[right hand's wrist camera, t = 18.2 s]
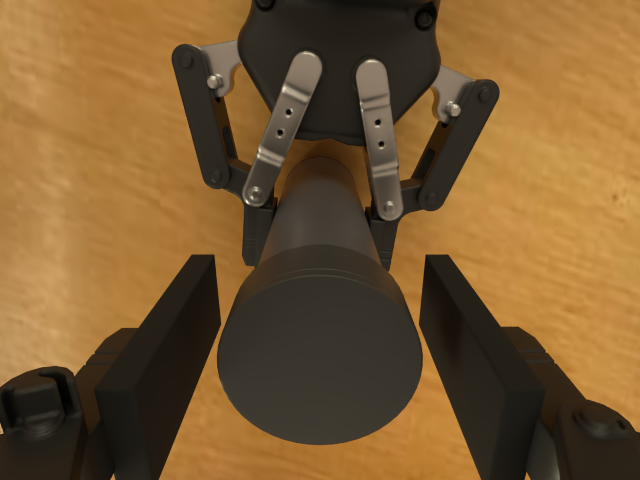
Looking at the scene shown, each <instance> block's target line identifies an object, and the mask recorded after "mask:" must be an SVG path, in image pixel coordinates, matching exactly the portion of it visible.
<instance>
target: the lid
mask: <svg viewBox="0 0 640 480" xmlns="http://www.w3.org/2000/svg"><path fill="white" fill-rule="evenodd" d="M422 364H423V354H422V347H421V342H420V339H419V335H418V332H417V330H416V327H415V324H414V322H413V319H412V317H411V314H410V311H409V309H408V306H407V304H406V301H405V298H404V296H403V294H402V292H401V290H400V288H399V286H398V284H397V283H396V281H395V280H394V278H393V277H392V276H391V275H390V274H389V273H388V272H387V271H386V269H384V268H383V267H382V266H381V265H380V264H378V263H377V262H376V261H374V260H373V259H371V258H369V257H368V256H366V255H364V254H362V253H359V252H357V251H355V250H352V249H348V248H345V247H340V246H335V245H324V244H316V245H305V246H299V247H294V248H291V249H288V250H285V251H282V252H280V253H278V254H276V255H274V256H272V257H270V258H269V259H267V260H266V261H264V262H262V263H261V264H260V265H259V266H258V267H257V268H255V269H254V270H253V271H252V272H251V274H250V275H249V276H248V277H247V278H246V279H245V281H244V282H243V284H242V285H241V287H240V289H239V291H238V293H237V295H236V298H235V300H234V303H233V306H232V308H231V311H230V313H229V316H228V319H227V321H226V324H225V327H224V329H223V332H222V334H221V338H220V341H219V345H218V352H217V368H218V373H219V378H220V381H221V384H222V387H223V389H224V391H225V393H226V395H227V397H228V399H229V400H230V402H231V403H232V404H233V406H234V407H235V408H236V410H237V411H238V412H239V413H240V414H241V415H242V416H243V417H244V418H246V419H247V420H248V421H249V422H250V423H252V424H253V425H255V426H256V427H258V428H259V429H261V430H263V431H265V432H267V433H269V434H271V435H273V436H275V437H278V438H281V439H284V440H287V441H291V442H295V443H302V444H310V445H330V444H338V443H345V442H348V441H352V440H356V439H359V438H362V437H364V436H367V435H369V434H371V433H373V432H375V431H377V430H379V429H380V428H382V427H384V426H385V425H387V424H388V423H389V422H391V421H392V420H393V419H394V418H395V417H397V416H398V415H399V413H400V412H401V411H402V410H403V409H404V408H405V407H406V405H407V404H408V403H409V401H410V400H411V398H412V397H413V395H414V393H415V391H416V389H417V386H418V383H419V380H420V377H421V372H422Z"/></svg>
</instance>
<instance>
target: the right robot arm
mask: <svg viewBox="0 0 640 480" xmlns="http://www.w3.org/2000/svg"><path fill="white" fill-rule="evenodd" d="M220 326H221V318H220V308H219V298H218V288H217V278H216V267H215V257H214V255H191V256H190V258H189V259H188V260H187V262H186V263H185V265H184V266H183V267H182V269H181V270H180V271H179V273H178V274H177V276H176V277H175V278H174V280H173V281H172V283H171V284H170V285H169V287H168V288H167V289H166V291H165V292H164V294H163V295H162V296H161V298H160V299H159V300H158V302H157V303H156V305H155V306H154V307H153V309H152V310H151V311H150V313H149V314H148V316H147V317H146V318H145V320H144V321H143V322H142V324H141V325H140V327H139V328H121V329H120V330H118V331H117V332H115V333H114V334H112V335H111V336H109V337H108V338H106V339H105V340H104V341H103V342H102V344H101V345H100V346H99V347H98V349H97V350H96V351H95V354H93V355H92V356H91V357H90V358H89V359H88V361H87V362H86V365H84V366H83V367H82V368H81V369H80V370H79V372H78V373H77V374H76V375H75V376H74V374H73V372H71V371H70V370H69V369H68V368H65V367H59V366H51V367H41V368H38V369H34V370H31V371H28V372H25V373H23V374H21V375H19V376H17V377H15V378H12V379H11V380H9V381H8V382H7V383H5V384H4V385H3V386H1V387H0V423H1V426H2V429H3V432H4V434H0V480H110V479H111V477H112V475H113V473H114V476H115V480H159V478H160V475H161V473H162V470H163V468H164V465H165V463H166V460H167V458H168V455H169V453H170V450H171V448H172V445H173V443H174V440H175V438H176V435H177V433H178V430H179V428H180V425H181V423H182V420H183V418H184V415H185V413H186V410H187V408H188V405H189V403H190V400H191V398H192V396H193V393H194V391H195V388H196V386H197V383H198V381H199V378H200V376H201V373H202V371H203V368H204V366H205V363H206V361H207V358H208V356H209V353H210V351H211V348H212V346H213V343H214V341H215V338H216V336H217V333H218V331H219V328H220ZM419 326H420V328H421V331H422V333H423V336H424V338H425V341H426V343H427V346H428V348H429V351H430V353H431V356H432V358H433V361H434V363H435V366H436V368H437V371H438V373H439V376H440V378H441V381H442V383H443V386H444V388H445V391H446V393H447V395H448V398H449V400H450V403H451V405H452V408H453V410H454V413H455V415H456V418H457V420H458V423H459V425H460V428H461V430H462V433H463V435H464V438H465V440H466V443H467V445H468V448H469V450H470V453H471V455H472V458H473V460H474V463H475V465H476V468H477V470H478V473H479V475H480V478H481V480H525V476H526V472H527V473H528V475H529V477H530V479H531V480H640V433H639V432H636V431H635V430H634V428H633V427H632V425H631V424H630V422H629V421H628V420H626V419H625V418H624V417H623V416H622V415H620V414H619V413H618V412H616V411H614V410H613V409H611V408H609V407H607V406H605V405H603V404H600V403H597V402H594V401H591V400H586V399H585V397H584V396H583V395H582V394H581V393H580V391H579V390H578V389H577V388H576V387H575V385H574V384H573V383H572V382H571V381H570V379H569V378H568V377H567V376H566V375H565V373H564V372H563V371H562V370H561V368H560V367H559V366H558V365H557V364H555V363H554V360H553V359H552V358H551V356H550V355H549V354H548V353H546V352H545V351H546V350H545V349H544V348H543V347H542V346H541V344H540V343H539V342H538V341H537V340H536V338H535V337H533V336H532V335H530V334H529V333H527V332H526V331H524V330H523V329H521V328H519V327H500V325H499V324H498V322H497V321H496V320H495V318H494V317H493V316H492V314H491V313H490V311H489V310H488V309H487V307H486V306H485V305H484V303H483V302H482V300H481V299H480V298H479V296H478V295H477V293H476V292H475V291H474V289H473V288H472V287H471V285H470V284H469V282H468V281H467V280H466V278H465V277H464V276H463V274H462V273H461V271H460V270H459V269H458V267H457V266H456V265H455V263H454V262H453V260H452V259H451V258H450V256H449V255H426V257H425V267H424V278H423V288H422V298H421V308H420V318H419Z"/></svg>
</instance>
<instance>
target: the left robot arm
mask: <svg viewBox="0 0 640 480" xmlns="http://www.w3.org/2000/svg"><path fill="white" fill-rule="evenodd" d="M439 5H440V0H252V4H251V9H250V12H249V15H248V18H247V20H246V22H245V24H244V25H243V27H242V29H241V30H240V33H239V36H238V40H234V41H229V42H223V43H218V44H212V45H207V46H201V47H199V46H195V45H188V44H182V45H179V46H177V47H176V48H175V49H174V51H173V53H172V64H173V68H174V72H175V75H176V79H177V83H178V87H179V90H180V94H181V98H182V102H183V105H184V109H185V113H186V117H187V120H188V124H189V128H190V132H191V135H192V139H193V143H194V147H195V150H196V154H197V158H198V162H199V165H200V169H201V173H202V176H203V180H204V182H205V183H206V184H207V185H208V186H209V187H211V188H213V189H221V188H223V189H225V190H227V191H229V192H231V193H233V194H235V195H237V196H238V197H239V198H240V199H241V200H242V202H243V205H244V227H243V247H242V257H243V259H244V262H245V265H247V266H255V268H257V267H258V265H259V262H260V259H261V255H262V252H263V249H264V246H265V243H266V240H267V237H268V234H269V231H270V228H271V225H272V222H273V219H274V216H275V213H276V210H277V201H278V198H277V197H274V184H275V182H276V179H277V177H278V174H279V172H280V170H281V167H282V165H283V163H284V160H285V158H286V156H287V153H288V151H289V149H290V146H291V144H292V142H293V139H300V140H309V141H314V140H320V139H326V138H332V139H335V140H337V141H340V142H342V143H345V144H347V145H354V146H362V151H363V156H364V161H365V165H366V170H367V176H368V182H369V187H370V193H371V198H372V200H371V207H366V208H365V216H366V219H367V223H368V226H369V229H370V232H371V235H372V238H373V241H374V244H375V247H376V250H377V253H378V256H379V259H380V262H381V265H382V267H383V268H384V269H386V271H387V272H388V271H389V269H390V264H391V258H392V253H393V248H394V242H395V237H396V232H397V226H398V223H399V221H400V219H401V218H402V217H403V216H404V215H406V214H408V213H410V212H414V211H418V210H423V209H424V210H426V211H435V210H437V209H439V208H440V207H441V206H442V205H443V203H444V201H445V200H446V198H447V196H448V194H449V192H450V190H451V188H452V186H453V184H454V182H455V181H456V179H457V177H458V175H459V173H460V171H461V169H462V167H463V165H464V163H465V161H466V160H467V158H468V156H469V154H470V152H471V150H472V148H473V146H474V144H475V142H476V141H477V139H478V137H479V135H480V133H481V131H482V129H483V127H484V125H485V123H486V121H487V120H488V118H489V116H490V114H491V112H492V110H493V108H494V106H495V104H496V102H497V101H498V98H499V87H498V85H497V84H496V83H495V82H494V81H492V80H488V79H472V78H469V77H467V76H465V75H463V74H461V73H458V72H456V71H454V70H452V69H450V68H447V67H445V66H443V65H441V57H440V53H439V50H438V47H437V42H436V34H435V29H436V21H437V16H438V10H439ZM241 65H243V66H244V67H245V69H246V71H247V72H248V74H249V76H250V78H251V79H252V81H253V83H254V84H255V86H256V88H257V89H258V91H259V93H260V95H261V96H262V98H263V100H264V101H265V103H266V105H267V106H268V108H269V110H270V112H271V113H272V115H271V117H270V120H269V122H268V125H267V127H266V130H265V132H264V135H263V137H262V140H261V142H260V145H259V148H258V150H257V154H256V157H255V160H254V162H253V165H252V166H251V165H249V164H246V163H244V162H242V161H240V160H238V156H237V152H236V148H235V144H234V139H233V135H232V131H231V126H230V122H229V118H228V114H227V109H226V105H225V101H224V96H227V95H229V94H230V93H231V92H232V90H233V88H234V75H235V72H236V70H237V69H238V68H239V67H240V66H241ZM428 88H430V89H431V90H432V92H433V94H434V102H433V105H432V114H433V116H434V118H435V119H437V120H438V123H437V125H436V127H435V129H434V131H433V133H432V135H431V137H430V140H429V142H428V144H427V146H426V148H425V150H424V152H423V154H422V156H421V158H420V160H419V162H418V164H417V166H416V168H415V170H414V172H413V175H412V177H411V179H407V180H403V181H400V180H399V173H398V168H399V161H398V154H397V147H396V140H395V133H394V125H395V124H396V122H397V121H398V120H399V119H400V118H401V117H402V116H403V115H404V114H405V113H406V112H407V111H408V110H409V109H410V108H411V107H412V105H413V104H414V103H415V102H416V101H417V100H418V99H419V98H420V97H421V96H422V95H423V94H424V93H425V92H426V91H427V90H428Z"/></svg>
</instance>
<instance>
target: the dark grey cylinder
mask: <svg viewBox="0 0 640 480" xmlns="http://www.w3.org/2000/svg"><path fill="white" fill-rule="evenodd" d="M316 244H324V245H335V246H340V247H345V248H348V249H352V250H355V251H357V252H359V253H362V254H364V255H366V256H368V257H369V258H371V259H373V260H374V261H376V262H377V263H378V264H380V265H381V262H380V259H379V256H378V253H377V250H376V247H375V244H374V241H373V238H372V235H371V232H370V229H369V226H368V223H367V219H366V216H365V213H364V210H363V207H362V204H361V201H360V198H359V195H358V192H357V189H356V186H355V183H354V180H353V178H352V176H351V174H350V172H349V171H348V170H347V168H346V167H345V166H344V165H342V164H341V163H340V162H338V161H336V160H334V159H331V158H327V157H312V158H309V159H306V160H304V161H302V162H300V163H299V164H298V165H296V166H295V167H294V168H293V169H292V171H291V172H290V173H289V175H288V177H287V180H286V183H285V186H284V189H283V192H282V195H281V198H280V201H279V204H278V207H277V210H276V213H275V216H274V219H273V222H272V225H271V228H270V231H269V234H268V237H267V240H266V243H265V246H264V249H263V252H262V255H261V259H260V262H259V265H260V264H261V263H262V262H264V261H266V260H267V259H269V258H270V257H272V256H274V255H276V254H278V253H280V252H282V251H285V250H288V249H291V248H294V247H299V246H305V245H316ZM259 265H258V266H259ZM381 266H382V265H381Z"/></svg>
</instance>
